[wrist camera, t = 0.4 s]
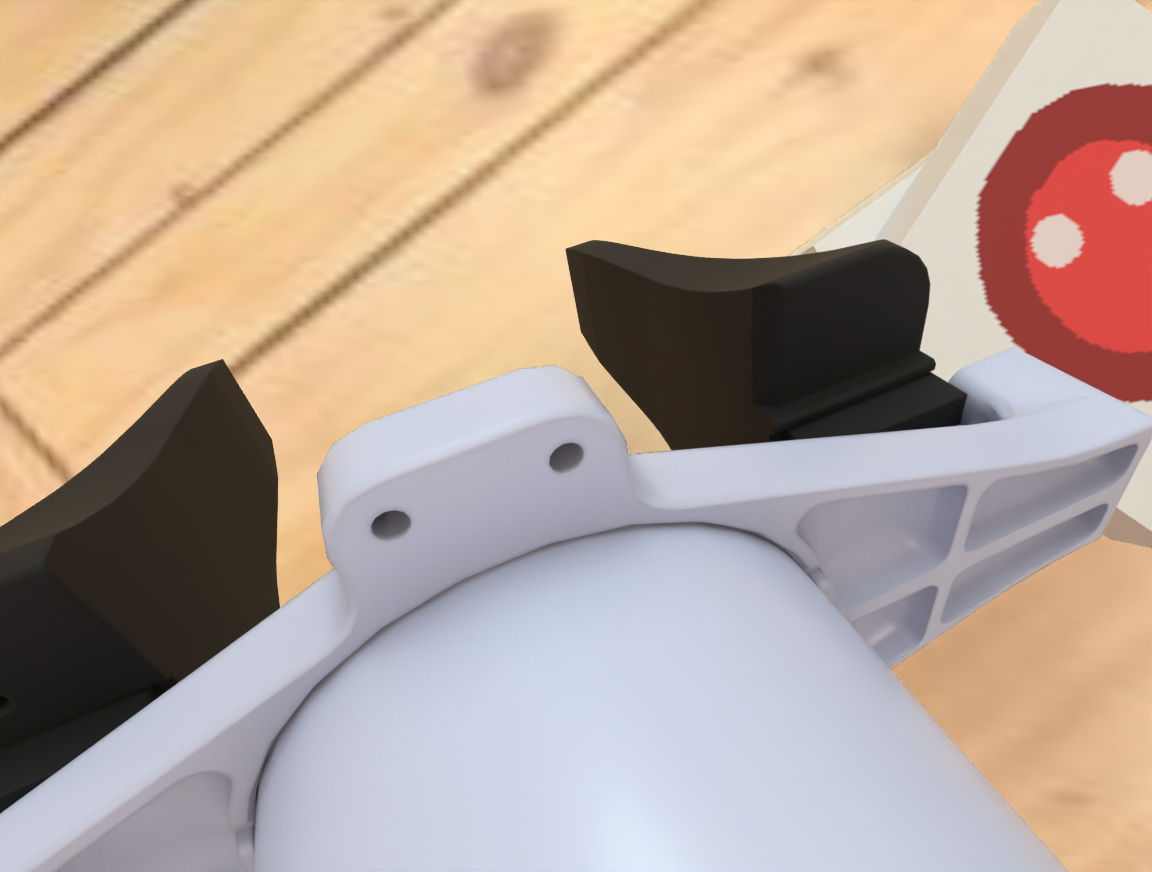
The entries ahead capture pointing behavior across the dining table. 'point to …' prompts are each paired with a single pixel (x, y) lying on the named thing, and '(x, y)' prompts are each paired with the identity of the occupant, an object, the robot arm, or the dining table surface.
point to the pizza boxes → (1041, 214)
